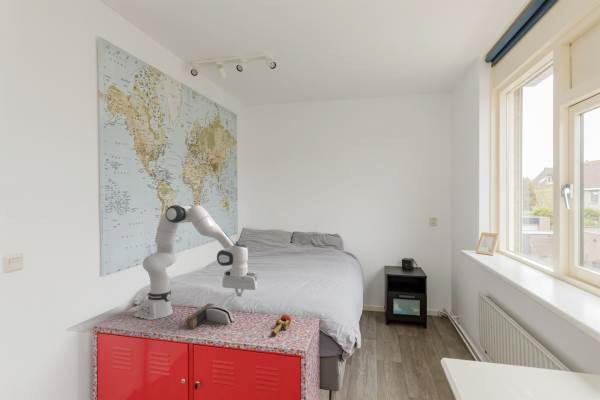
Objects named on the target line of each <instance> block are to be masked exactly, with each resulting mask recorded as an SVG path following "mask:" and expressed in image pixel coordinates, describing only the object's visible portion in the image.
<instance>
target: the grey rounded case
mask: <svg viewBox="0 0 600 400" xmlns="http://www.w3.org/2000/svg"><path fill="white" fill-rule="evenodd" d="M206 316H207V320H206V321H211V322H215V323H219V324H224V325H225V324H226V325H231V323H232V322H235V319H234V318H233V317H232V313H231V311H230V310H229V309H227V308H225V307H222V306H218V305H214V306H211V307H209V308H208V309H207V310H206Z"/></svg>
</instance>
